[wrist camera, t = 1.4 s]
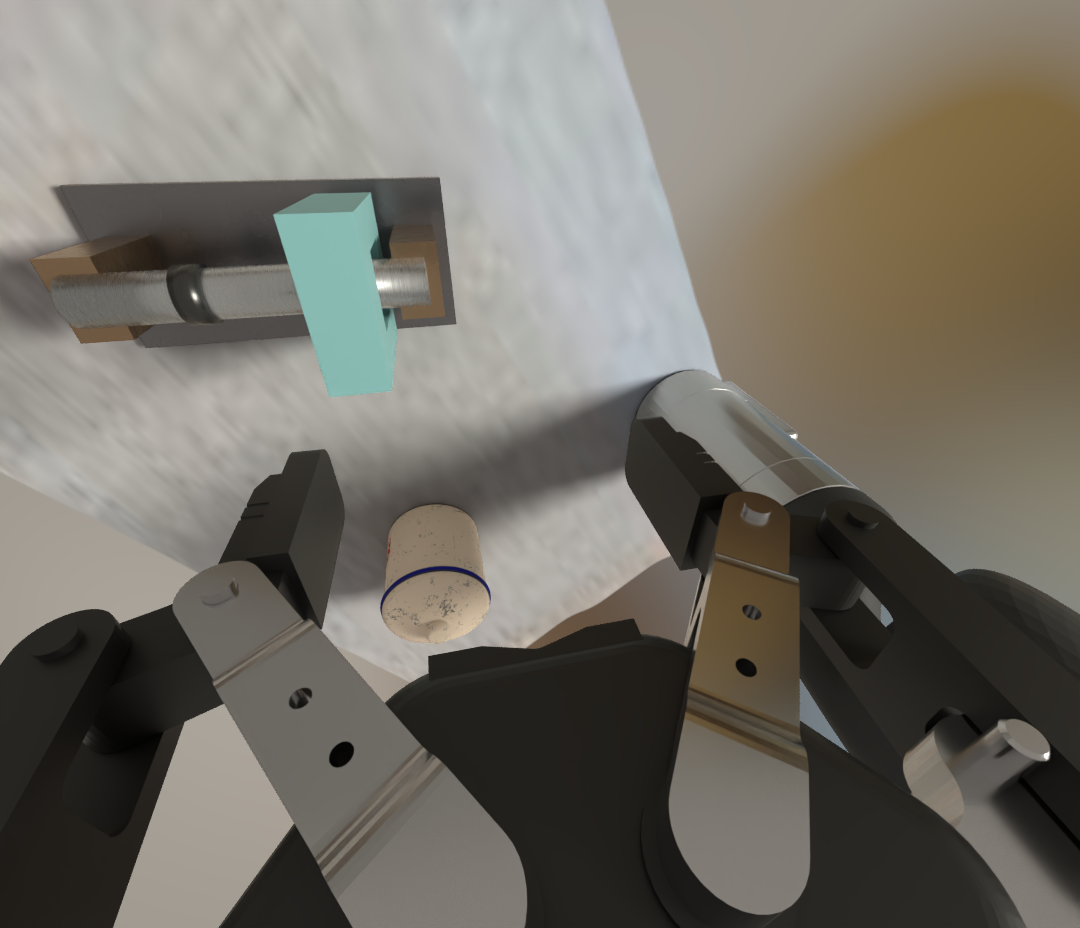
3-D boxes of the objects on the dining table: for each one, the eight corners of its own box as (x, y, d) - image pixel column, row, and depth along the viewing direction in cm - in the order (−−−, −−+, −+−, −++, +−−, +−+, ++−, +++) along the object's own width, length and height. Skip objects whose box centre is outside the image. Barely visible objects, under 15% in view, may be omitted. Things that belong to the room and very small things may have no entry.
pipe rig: (439, 177, 28) (446, 188, 22) (455, 320, 33) (465, 365, 27) (68, 184, 25) (-61, 200, 18) (151, 343, 30) (75, 401, 23)
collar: (370, 192, 25) (353, 211, 18) (397, 331, 30) (391, 391, 23) (313, 193, 25) (273, 214, 18) (350, 335, 30) (329, 397, 22)
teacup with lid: (366, 526, 42) (352, 633, 33) (452, 485, 42) (463, 582, 33) (431, 594, 50) (435, 697, 40) (505, 560, 49) (526, 656, 40)
